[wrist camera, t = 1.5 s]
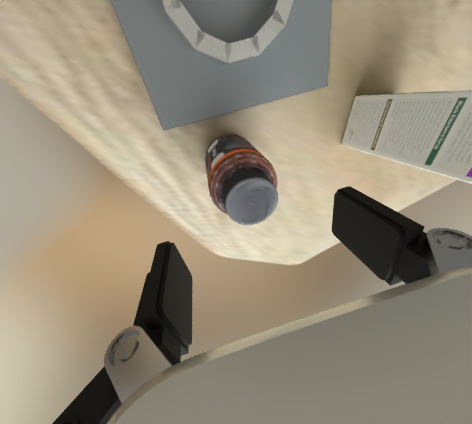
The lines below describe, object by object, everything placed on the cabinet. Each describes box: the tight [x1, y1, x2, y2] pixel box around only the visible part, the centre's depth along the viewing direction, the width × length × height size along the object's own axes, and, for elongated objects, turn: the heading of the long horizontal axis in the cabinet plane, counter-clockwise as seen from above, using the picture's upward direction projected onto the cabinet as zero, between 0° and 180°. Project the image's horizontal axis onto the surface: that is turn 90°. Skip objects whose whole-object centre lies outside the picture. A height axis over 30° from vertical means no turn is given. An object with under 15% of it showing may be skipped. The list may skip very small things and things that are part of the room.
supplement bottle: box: [206, 134, 278, 225], centre depth 18 cm, size 6×6×11 cm
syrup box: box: [341, 90, 472, 184], centre depth 17 cm, size 6×6×14 cm
